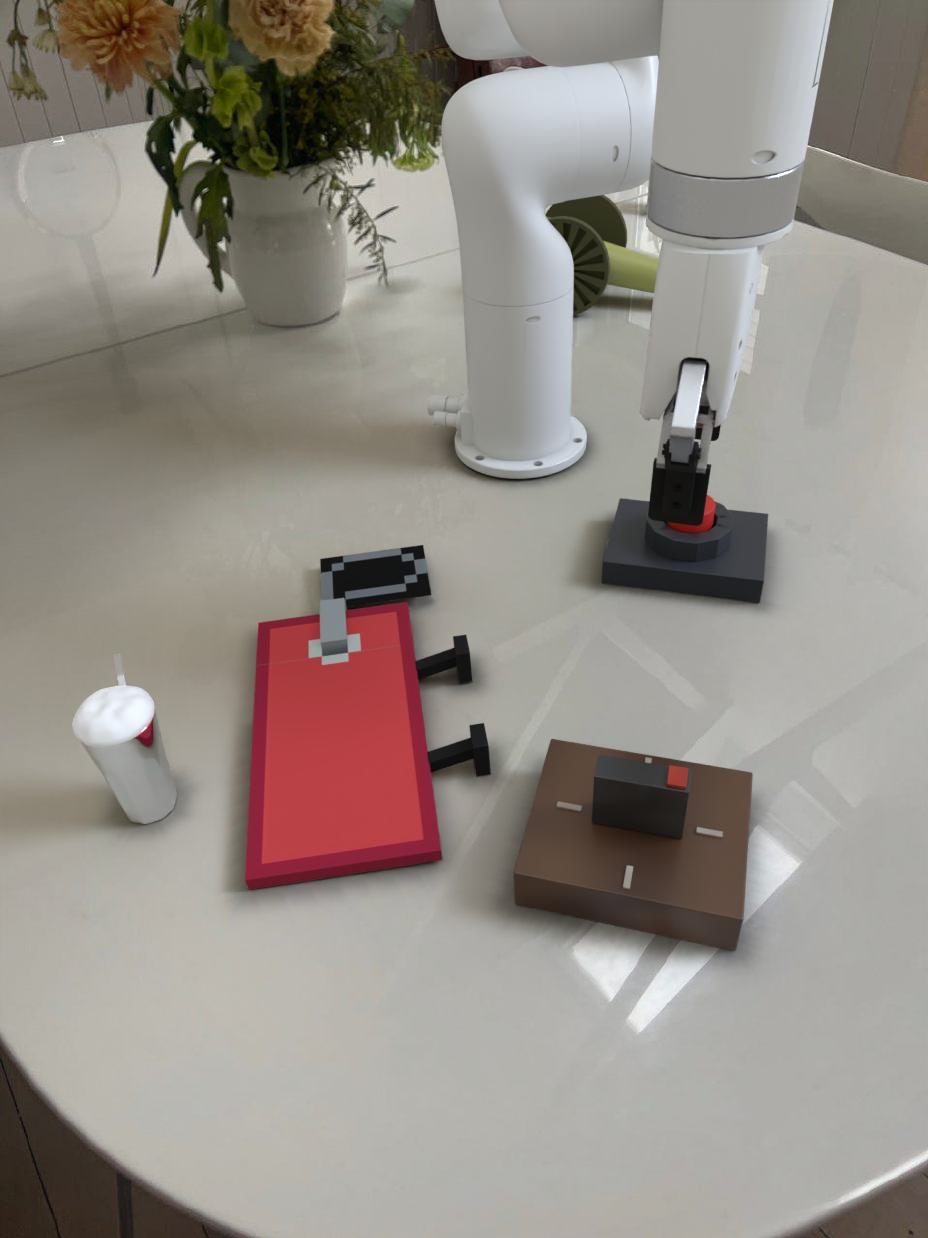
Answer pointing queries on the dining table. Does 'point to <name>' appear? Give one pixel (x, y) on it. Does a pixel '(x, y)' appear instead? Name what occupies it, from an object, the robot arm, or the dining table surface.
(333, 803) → the red board with handle
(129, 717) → the milkshake
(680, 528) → the power button
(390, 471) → the dining table surface
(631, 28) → the robot arm
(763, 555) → the button box
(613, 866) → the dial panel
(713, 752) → the dining table surface
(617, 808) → the box with red button
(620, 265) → the cannon
